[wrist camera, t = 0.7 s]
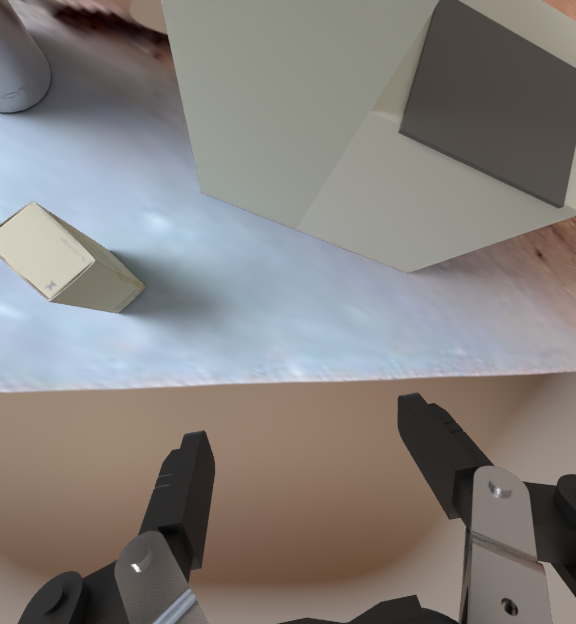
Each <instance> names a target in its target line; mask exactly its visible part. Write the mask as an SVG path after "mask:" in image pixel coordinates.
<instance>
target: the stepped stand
mask: <svg viewBox="0 0 576 624" xmlns="http://www.w3.org/2000/svg"><path fill="white" fill-rule="evenodd" d="M161 3H162V8H163V13H164V18H165V22H166V27H167V31H168V37H169V42H170V46H171V51H172V56H173V61H174V66H175V70H176V75H177V80H178V85H179V89H180V94H181V99H182V104H183V109H184V113H185V118H186V123H187V128H188V133H189V137H190V142H191V147H192V152H193V157H194V161H195V166H196V171H197V176H198V181H199V185H200V190H201V193H203V194H205V195H208V196H210V197H213V198H216V199H218V200H221V201H223V202H226V203H228V204H231V205H234V206H236V207H239V208H241V209H244V210H246V211H249V212H252V213H254V214H257V215H259V216H262V217H264V218H267V219H269V220H272V221H275V222H277V223H280V224H282V225H285V226H287V227H290V228H293V229H295V230H298V231H300V232H303V233H305V234H308V235H311V236H313V237H316V238H318V239H321V240H323V241H326V242H329V243H331V244H334V245H336V246H339V247H341V248H344V249H346V250H349V251H352V252H354V253H357V254H359V255H362V256H364V257H367V258H370V259H372V260H375V261H377V262H380V263H382V264H385V265H388V266H390V267H393V268H395V269H398V270H400V271H403V272H405V273H410V272H413V271H416V270H419V269H421V268H424V267H427V266H430V265H433V264H436V263H439V262H442V261H445V260H448V259H451V258H454V257H457V256H460V255H463V254H465V253H468V252H471V251H474V250H477V249H480V248H483V247H486V246H489V245H492V244H495V243H498V242H501V241H504V240H507V239H509V238H512V237H515V236H518V235H521V234H524V233H527V232H530V231H533V230H536V229H539V228H542V227H545V226H548V225H550V224H553V223H556V222H559V221H562V220H565V219H568V218H571V217H574V216H576V21H575V20H573V19H571V18H570V17H568V16H566V15H565V14H563V13H561V12H560V11H558V10H557V9H555V8H553V7H552V6H550V5H548V4H547V3H545V2H543V1H542V0H161Z"/></svg>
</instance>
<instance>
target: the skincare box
mask: <svg viewBox="0 0 576 624" xmlns="http://www.w3.org/2000/svg"><path fill="white" fill-rule="evenodd" d="M0 259H1V260H2V261H3V262H4V263H5V264H7V265H8V266H9V267H10V268H11V269H12V270H13V271H14V272H15V273H16V274H17V275H19V276H20V277H21V278H22V279H23V280H24V281H25V282H26V283H28V284H29V285H30V286H31V287H32V288H33V289H34V290H36V291H37V292H38V293H39V294H40V295H41V296H43V297H44V298H45V299H46V300H47V301H48V302H53V303H59V304H65V305H71V306H77V307H83V308H89V309H94V310H100V311H106V312H111V313H119V312H120V311H121V310H123V309H124V308H125V307H126V306H127V305H128V304H129V303H131V302H132V301H133V300H134V299H135V298H136V297H137V296H138V295H139V294H140V293H141V292H142V291H143V290H144V289H146V286H145V285H144V284H143V283H142V282H141V281H140V280H139V279H138V278H137V277H136V276H135V275H134V274H133V273H132V272H131V271H130V270H129V269H128V268H127V267H126V266H125V265H124V264H122V263H121V262H120V261H119V260H118V259H117V258H116V257H115V256H114V255H113V254H112V253H111V252H110V251H109V250H108V249H106V248H105V247H103V246H102V245H100V244H99V243H97V242H96V241H94V240H92V239H91V238H89V237H88V236H86V235H85V234H83V233H82V232H80V231H79V230H77V229H76V228H74V227H72V226H71V225H69V224H68V223H66V222H65V221H63V220H62V219H60V218H59V217H57V216H55V215H54V214H52V213H51V212H49V211H48V210H46V209H45V208H43V207H41V206H40V205H38V204H37V203H35V202H34V201H31V202H30V203H28V204H27V205H25V206H24V207H23V208H21V209H20V210H19V211H17V212H16V213H15V214H13V215H12V216H10V217H9V218H8V219H6V220H5V221H4V222H2V223H1V224H0Z"/></svg>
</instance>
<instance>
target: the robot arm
mask: <svg viewBox="0 0 576 624" xmlns="http://www.w3.org/2000/svg"><path fill="white" fill-rule="evenodd" d="M50 81H51V71H50V67H49V63H48V61H47V60H46V58H45V56H44V54H43V53H42V51H41V50H40V48H39V47H38V45H37V44H36V42H35V41H34V39H33V38H32V36H31V35H30V33H29V32H28V30H27V29H26V27H25V26H24V24H23V23H22V21H21V20H20V18H19V16H18V15H17V13H16V12H15V11H14V9H13V8H12V6H11V5H10V3H9V2H8V0H0V112H16V111H22V110H25V109H27V108H30V107H32V106H33V105H35V104H36V103H38V102H39V101H40V100H41V99H42V98H43V97H44V96H45V94H46V92H47V90H48V89H49V85H50ZM398 429H399V433H400V436H401V438H402V440H403V442H404V444H405V445H406V447H407V449H408V450H409V452H410V454H411V456H412V457H413V459H414V460H415V462H416V464H417V466H418V467H419V469H420V471H421V472H422V474H423V476H424V477H425V479H426V481H427V483H428V484H429V486H430V488H431V489H432V491H433V493H434V494H435V496H436V498H437V500H438V501H439V503H440V505H441V506H442V508H443V510H444V511H445V513H446V515H447V516H448V518H449V519H450V520H451V519H456V518H461V519H462V521H463V522H464V524H465V525H466V530H465V545H464V561H463V577H462V591H461V601H460V611H459V623H458V622H457V621H455V620H453V619H451V618H450V617H448V616H446V615H444V614H441V613H439V612H437V611H433V610H430V609H427V608H421V606H420V603H419V601H418V598H417V596H416V595H412V596H407V597H402V598H398V599H393V600H388V601H384V602H380V603H379V604H377V605H375V606H374V607H372V608H371V609H369V610H367V611H366V612H364V613H363V614H361V615H360V616H358V617H356V618H355V619H353V620H352V621H350V622H348V623H339V622H333V621H326V620H319V619H312V618H303V619H298V620H293V621H288V622H284V623H279V624H553V622H552V615H551V608H550V601H549V594H548V586H547V579H546V573H545V569H544V567H543V565H542V564H541V563H538V561H543V562H548V563H551V564H552V566H553V567H554V568H555V570H556V571H557V573H558V574H559V575H560V577H561V578H562V579H563V581H564V582H565V583H566V585H567V586H568V587H569V589H570V590H571V592H572V593H573V594H574V595H575V597H576V475H575V474H570V475H564V476H562V477H560V479H559V480H558V482H557V486H554V485H546V484H536V483H529V482H523V481H521V480H520V479H519V478H518V477H517V476H515V475H514V474H512V473H511V472H509V471H507V470H505V469H502V468H500V467H496V466H494V465H493V464H492V462H491V461H490V460H489V459H488V458H487V457H486V456H485V454H484V453H483V452H482V451H481V450H480V449H479V448H478V447H477V445H476V444H475V443H474V442H473V441H472V440H471V438H470V437H469V436H468V435H467V434H466V433H465V432H463V429H462V428H461V427H460V426H459V425H458V424H457V423H456V422H455V420H454V419H453V418H452V417H451V415H450V414H449V413H448V412H447V411H446V410H444V409H443V408H441V407H439V406H438V405H436V404H435V403H432V404H427V403H426V401H425V400H424V399H423V398H422V396H421V395H420V394H419V393H412V394H406V395H401V396H399V397H398ZM214 477H215V461H214V456H213V453H212V450H211V447H210V444H209V441H208V438H207V435H206V432H205V431H198V432H193V433H187V434H185V435H184V437H183V440H182V444H181V447H180V449H176V450H172V451H171V452H170V454H169V455H168V456H167V458H166V459H165V461H164V462H163V464H162V467H161V470H160V473H159V478H158V479H157V482H156V484H155V489H154V490H153V494H152V496H151V499H150V502H149V505H148V508H147V511H146V514H145V517H144V520H143V523H142V526H141V528H140V531H139V534H138V536H137V537H135V538H134V539H132V540H131V541H130V542H129V543H128V544H127V546H125V548H124V549H123V550H122V552H121V553H120V555H119V557H118V559H117V560H116V561H115V562H113V563H111V564H109V565H107V566H105V567H103V568H102V569H100V570H98V571H96V572H94V573H92V574H90V575H88V576H87V577H85V578H82V577H81V575H80V574H79V573H77V572H74V571H69V572H65V573H62V574H60V575H58V576H56V577H54V578H53V579H51V580H50V581H49V582H47V583H46V584H45V585H44V586H43V587H42V588H41V589H40V590H39V591H38V592H37V593H36V594H35V595H34V597H33V598H32V599H31V601H30V602H29V604H28V605H27V607H26V609H25V611H24V612H23V614H22V616H21V618H20V620H19V622H18V624H209V623H208V621H207V619H206V617H205V615H204V613H203V611H202V609H201V608H200V606H199V604H198V602H197V600H196V598H195V596H194V594H193V592H192V591H191V589H190V587H189V585H188V582H189V577H190V571H191V570H194V569H199V568H201V567H202V560H203V553H204V547H205V539H206V533H207V526H208V519H209V512H210V505H211V498H212V491H213V483H214Z"/></svg>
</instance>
